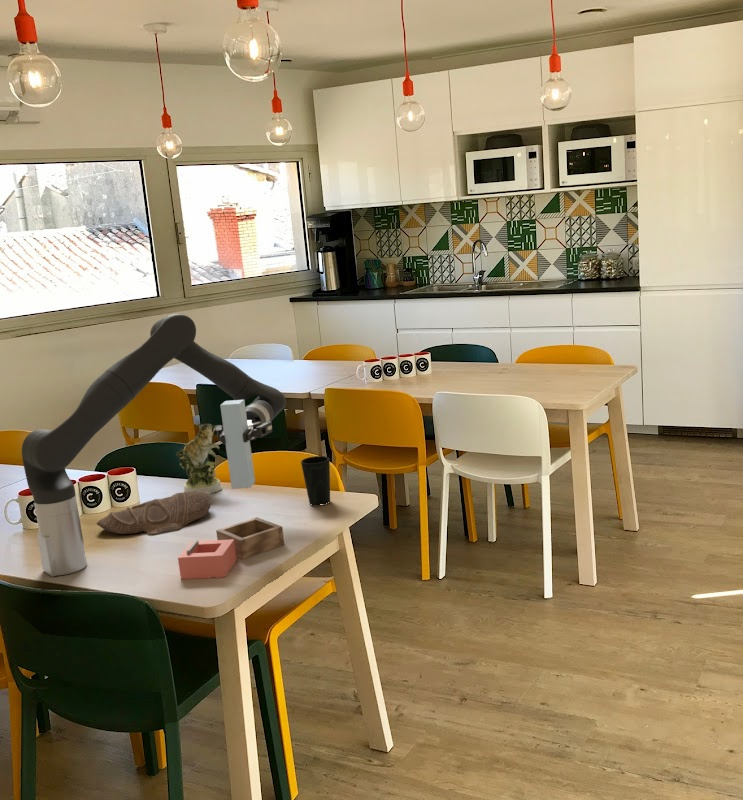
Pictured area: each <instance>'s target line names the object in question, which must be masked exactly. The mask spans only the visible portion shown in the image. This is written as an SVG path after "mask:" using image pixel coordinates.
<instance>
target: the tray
mask: <svg viewBox="0 0 743 800" xmlns="http://www.w3.org/2000/svg"><path fill="white" fill-rule="evenodd" d="M215 531H216V540H230V539H234V543H235V550H236V558H237V557H238V558H239V559H241V560H245V559H247V558H250V557H252V556H256V555H259V554H262V553H264V552H268V551H270V550H274V549H277V548H279V547H282V546H285V539H284V529H283V526H281V525H279V524H276V523H274V522H271V521H268V520H266V519H263V518H260V517H258V516H257V517H254V518H251V519H247V520H244V521H241V522H238V523H235V524H231V525H229V526H225V527H223V528H219V529H216V530H215Z"/></svg>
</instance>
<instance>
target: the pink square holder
mask: <svg viewBox="0 0 743 800" xmlns="http://www.w3.org/2000/svg"><path fill="white" fill-rule="evenodd" d="M237 560H238V559H237V556H236V550H235V543H234V539H230V540H217V539H212V540H211V539H210V540H194V541H193V540H192V541H191V542H190V543H189V544H188V545H187V546H186V548H185V549H183V551H182V552H181V554H180V555H178V557H177V561H178V566H179V567H178V569H179V576H180V579H181V580H191V579H211V577H216V578H226V576H227V575H228V574H229V572H230V571H231V569H232V568H233V566H234V565H235V563H236V562H237ZM229 570H230V571H229Z"/></svg>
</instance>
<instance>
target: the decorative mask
mask: <svg viewBox="0 0 743 800" xmlns="http://www.w3.org/2000/svg"><path fill="white" fill-rule="evenodd" d="M210 508H211V496H210V494H208V493H206V492H203V491H191V492H183V491H182V492H176V493H174V494H173V495H170V496H167V497H163V498H156V499H151V500H148V501H146V502H142V503H139V504H137V505H133V506H132V507H129V506H127V507H126V508H125V509H122V510H120V511H110V512H109V513H108V515H107V516H104V517H102V518H100V519H99V520H97V522H96V524H97V526H98V527H100V528H102V529H103V530H105V531H108V532H111V533H115V534H120V535H121V534H122V535H126V534H128V535H129V534H136V533H141V532H145V533H147V536H158V535H163V534H167V533H173V532H177V531H178V532H179V531H181V530H182V529H183V528H184V527H185V526H187V525H188V524H189V523H192V522H194V521H196V520H199V519H201V518H203V517H205V516H206V515H207V514H208V513H209V511H210Z"/></svg>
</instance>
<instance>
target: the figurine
mask: <svg viewBox="0 0 743 800" xmlns="http://www.w3.org/2000/svg"><path fill="white" fill-rule="evenodd" d="M216 426H217V425H213V424H211V423H204V424H202V423H199V424H198V428H199V430H198V433H197V435H196V436H195V437H194V438H193V439H192V440H190V441H188V442H187V443H186V444H185V446H184V448H180V449H179V450H178V451H177V452H175V455H176V457H177V459H178V460H179V466H180V467H181V468H182V469H183V470H185V472H186V475H187V476H188V479H187V481H186V482H184V484H183V491H182V493H183V492H191V491H203V492H206V493H208V494H209V495H212V493H213V494H215V492H216V493H218V492H220V491H222V489H223V485H222V484H221V480H220V479H218V478H216V476H217V473H216V471H215V469H214V468H216V467H215V465H216V462H214V461H210V460H207V461H206V458H208V455H211V456H212V457H213V458H216V456H217V455H216V453H215V452H214V451H213V450H212V449H213V448H214V449H218V450H220V446H219V445H218V444H217V443H216V442H213V436H214V432H215V431H217V428H216ZM205 461H206V462H205ZM219 490H220V491H219ZM217 491H218V492H217Z"/></svg>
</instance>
